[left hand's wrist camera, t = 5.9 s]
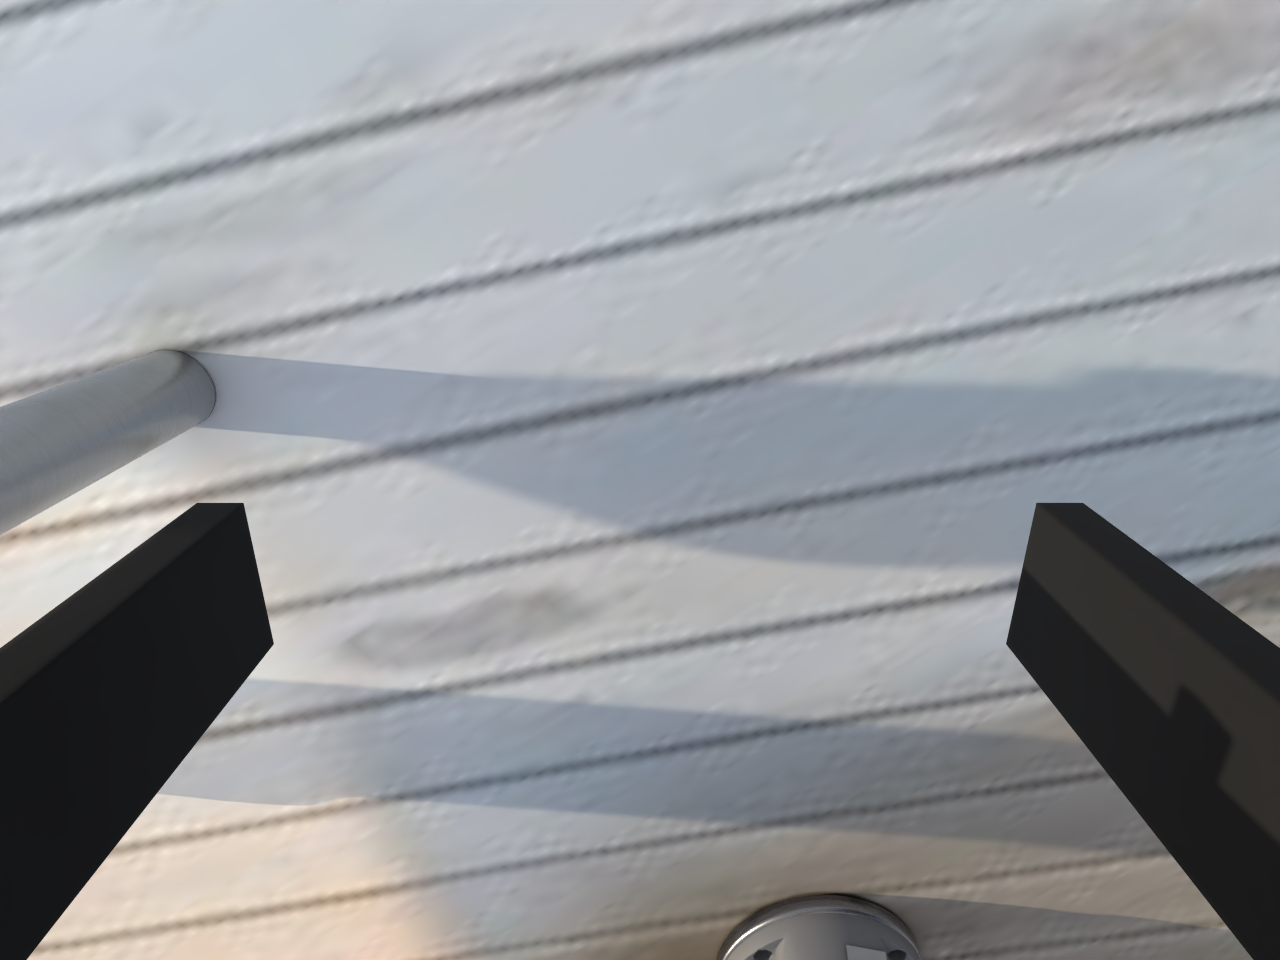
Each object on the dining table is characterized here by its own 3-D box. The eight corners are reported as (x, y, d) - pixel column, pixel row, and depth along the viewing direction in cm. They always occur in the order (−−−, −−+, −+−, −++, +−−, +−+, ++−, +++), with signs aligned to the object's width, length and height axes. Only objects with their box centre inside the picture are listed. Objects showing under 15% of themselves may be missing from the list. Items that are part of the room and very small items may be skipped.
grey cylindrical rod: (232, 396, 40) (-55, 551, 24) (180, 441, 41) (-131, 620, 25) (170, 333, 39) (-179, 450, 22) (118, 380, 40) (-255, 526, 23)
